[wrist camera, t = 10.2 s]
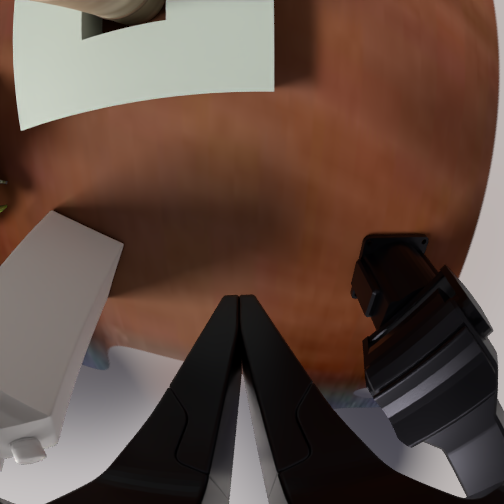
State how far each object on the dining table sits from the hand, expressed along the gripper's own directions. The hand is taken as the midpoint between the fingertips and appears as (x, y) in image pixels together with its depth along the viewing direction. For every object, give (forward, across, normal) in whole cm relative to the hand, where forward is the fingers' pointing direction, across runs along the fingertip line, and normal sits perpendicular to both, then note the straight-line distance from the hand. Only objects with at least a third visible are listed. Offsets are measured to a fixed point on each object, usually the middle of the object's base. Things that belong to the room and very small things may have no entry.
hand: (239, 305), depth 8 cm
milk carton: (+13, +14, +7) cm, 20 cm away
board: (+13, +6, -12) cm, 19 cm away
